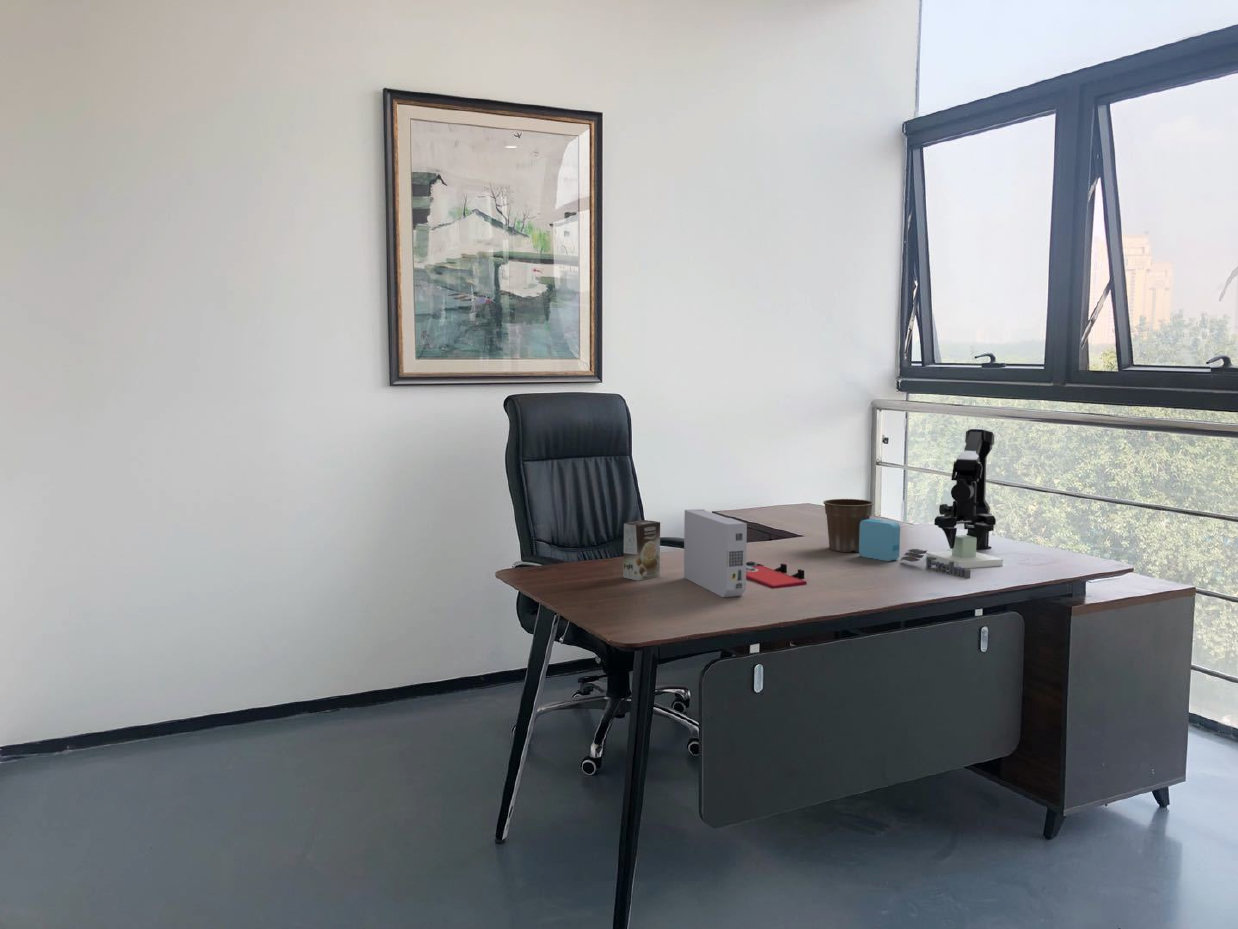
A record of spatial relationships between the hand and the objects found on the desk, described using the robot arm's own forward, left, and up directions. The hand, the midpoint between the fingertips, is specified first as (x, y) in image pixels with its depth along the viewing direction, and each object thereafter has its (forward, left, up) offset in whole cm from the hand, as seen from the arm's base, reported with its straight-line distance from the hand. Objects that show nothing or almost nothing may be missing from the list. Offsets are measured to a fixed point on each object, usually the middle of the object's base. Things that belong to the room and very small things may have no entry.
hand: (964, 547), depth 288 cm
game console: (+88, +9, -5) cm, 89 cm away
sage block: (0, 0, -2) cm, 2 cm away
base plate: (0, 0, -4) cm, 4 cm away
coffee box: (+103, -9, -5) cm, 103 cm away
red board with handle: (+68, -1, -5) cm, 68 cm away
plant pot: (+24, -29, -5) cm, 38 cm away
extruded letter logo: (+16, +7, -5) cm, 18 cm away
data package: (+22, -13, -5) cm, 26 cm away
